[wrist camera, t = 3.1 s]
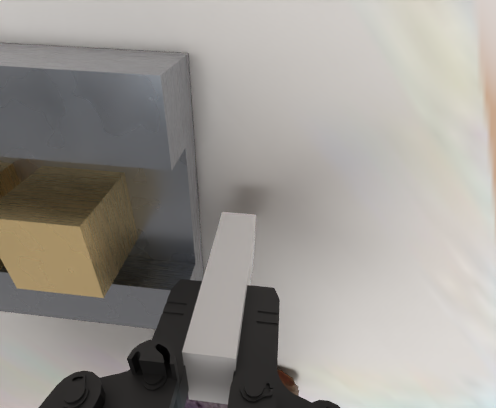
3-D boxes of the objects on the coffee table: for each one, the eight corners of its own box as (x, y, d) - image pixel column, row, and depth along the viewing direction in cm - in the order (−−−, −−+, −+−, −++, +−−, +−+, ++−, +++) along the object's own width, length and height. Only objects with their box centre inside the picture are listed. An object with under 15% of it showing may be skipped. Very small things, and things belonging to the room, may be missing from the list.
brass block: (66, 230, 18) (17, 288, 15) (42, 165, 16) (-23, 216, 13) (138, 238, 18) (103, 298, 15) (124, 172, 15) (79, 226, 12)
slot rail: (-13, 262, 23) (-56, 304, 20) (-147, 34, 15) (-253, 50, 12) (204, 285, 22) (190, 333, 19) (188, 53, 14) (160, 75, 11)
